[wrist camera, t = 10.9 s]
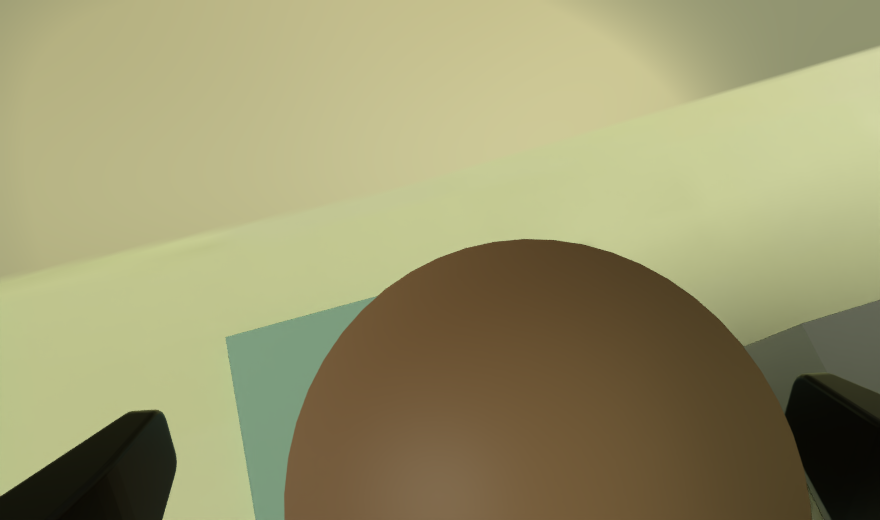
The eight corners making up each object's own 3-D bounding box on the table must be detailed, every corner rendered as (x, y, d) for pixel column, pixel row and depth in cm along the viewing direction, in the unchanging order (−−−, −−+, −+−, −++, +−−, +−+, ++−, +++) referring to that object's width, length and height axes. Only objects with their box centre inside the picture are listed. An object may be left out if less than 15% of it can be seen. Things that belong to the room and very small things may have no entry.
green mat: (718, 624, 15) (729, 630, 14) (305, 776, 14) (300, 788, 13) (569, 249, 19) (573, 242, 18) (231, 341, 17) (225, 337, 17)
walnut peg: (566, 469, 16) (925, 462, 4) (465, 598, 15) (604, 1025, 3) (453, 365, 17) (513, 144, 5) (350, 479, 15) (152, 501, 4)
